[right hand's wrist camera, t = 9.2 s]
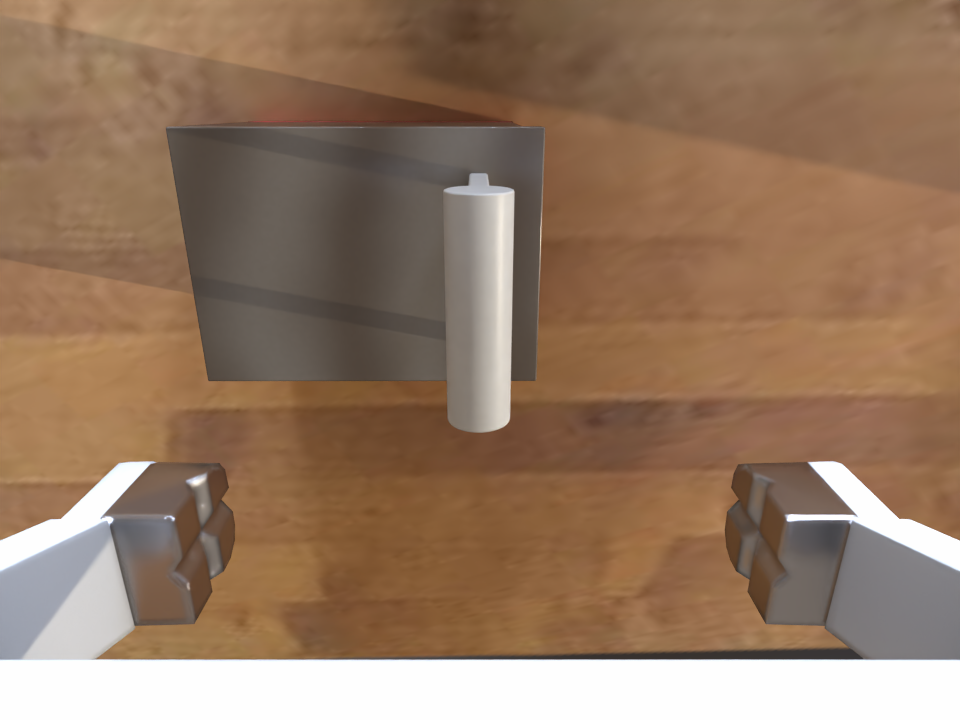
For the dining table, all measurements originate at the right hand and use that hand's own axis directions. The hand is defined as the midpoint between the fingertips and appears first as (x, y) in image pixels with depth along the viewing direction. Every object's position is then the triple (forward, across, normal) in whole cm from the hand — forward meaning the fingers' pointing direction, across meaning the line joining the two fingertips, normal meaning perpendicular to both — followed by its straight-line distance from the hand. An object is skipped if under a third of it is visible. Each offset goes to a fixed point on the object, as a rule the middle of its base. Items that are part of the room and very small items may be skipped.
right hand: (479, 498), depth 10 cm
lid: (+18, -5, 0) cm, 18 cm away
